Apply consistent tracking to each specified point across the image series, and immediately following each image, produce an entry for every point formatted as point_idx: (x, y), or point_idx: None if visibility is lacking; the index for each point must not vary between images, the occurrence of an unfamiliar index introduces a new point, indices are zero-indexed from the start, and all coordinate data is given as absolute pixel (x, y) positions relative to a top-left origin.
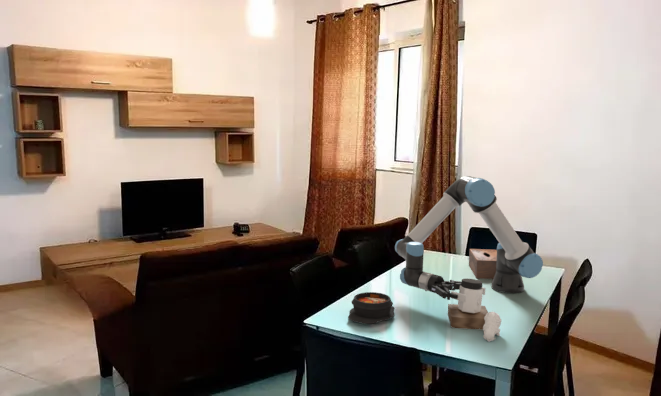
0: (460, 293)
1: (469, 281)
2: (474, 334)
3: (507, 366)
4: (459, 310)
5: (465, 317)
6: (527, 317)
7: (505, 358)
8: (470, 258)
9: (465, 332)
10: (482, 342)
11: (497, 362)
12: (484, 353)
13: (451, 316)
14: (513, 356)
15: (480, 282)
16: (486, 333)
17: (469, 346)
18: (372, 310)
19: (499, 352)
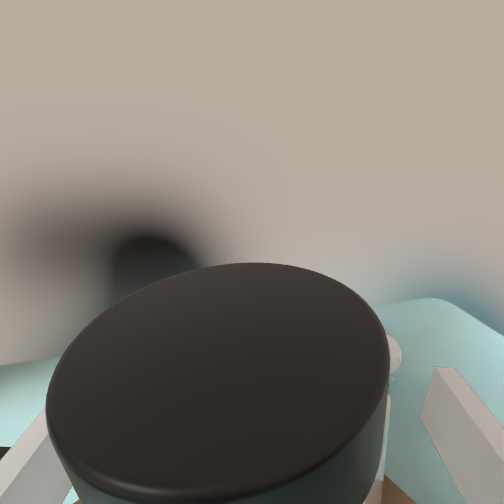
0: (483, 433)
1: (303, 312)
2: (388, 444)
3: (435, 298)
4: None
5: (401, 495)
6: (25, 379)
7: (411, 311)
8: None
9: (424, 497)
10: (409, 383)
11: (449, 312)
12: (458, 346)
13: None
14: (381, 306)
15: (206, 272)
16: (400, 348)
17: (492, 396)
18: None
19: (402, 328)
